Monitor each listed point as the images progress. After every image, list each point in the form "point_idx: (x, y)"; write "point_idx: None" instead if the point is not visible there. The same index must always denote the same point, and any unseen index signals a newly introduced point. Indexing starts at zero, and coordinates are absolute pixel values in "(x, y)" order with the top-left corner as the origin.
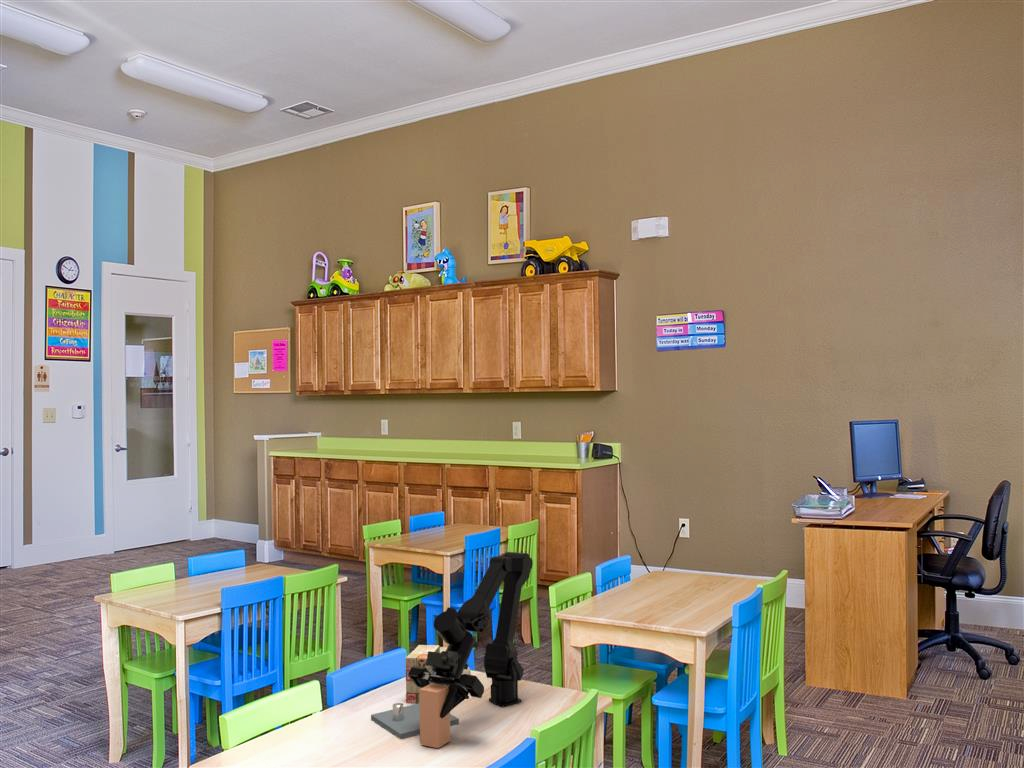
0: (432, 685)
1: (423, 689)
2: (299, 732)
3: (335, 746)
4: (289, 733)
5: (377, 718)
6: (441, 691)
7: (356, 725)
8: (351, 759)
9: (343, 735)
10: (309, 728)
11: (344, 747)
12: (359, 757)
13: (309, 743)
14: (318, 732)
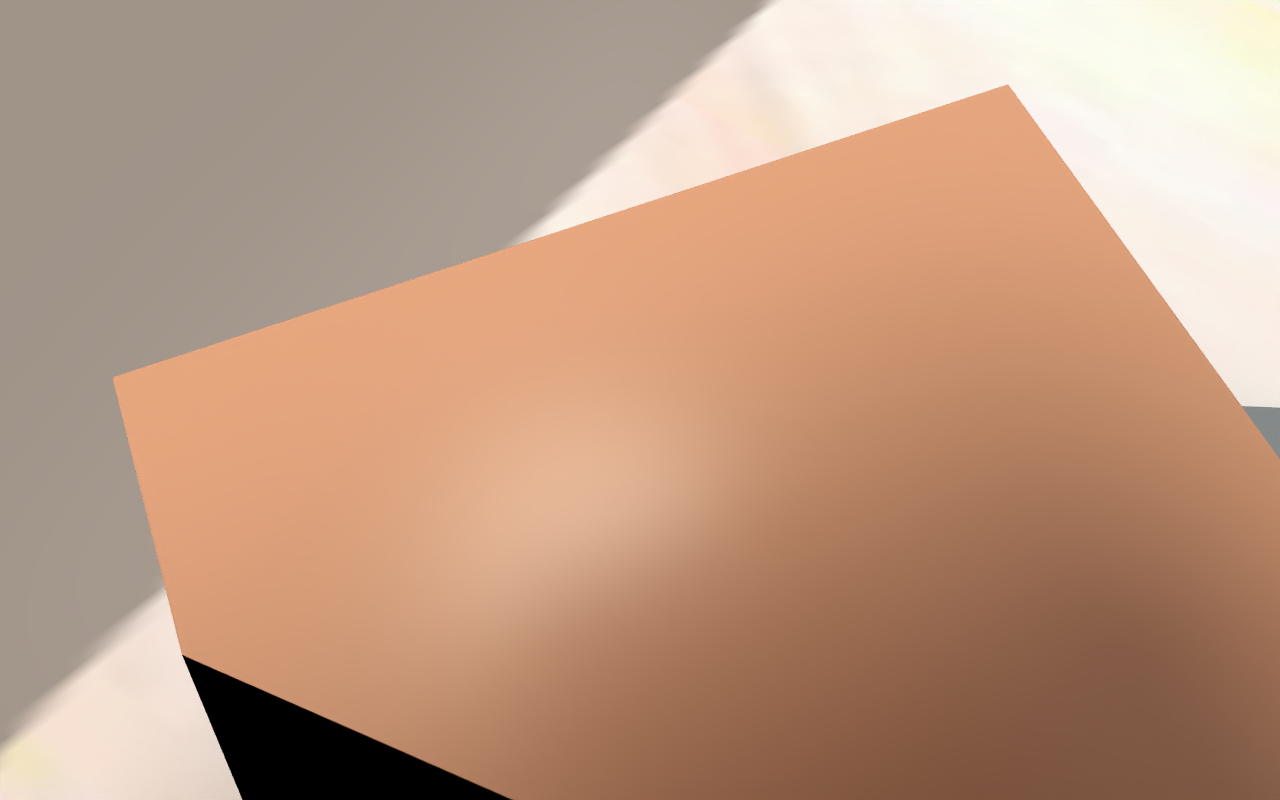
0: (1265, 771)
1: (919, 167)
2: (1223, 39)
3: (954, 68)
4: (1226, 4)
5: (1257, 410)
6: (269, 775)
7: (1225, 298)
8: (731, 40)
9: (1093, 169)
10: (1263, 94)
11: (916, 92)
12: (730, 79)
13: (1056, 6)
14: (1190, 99)
